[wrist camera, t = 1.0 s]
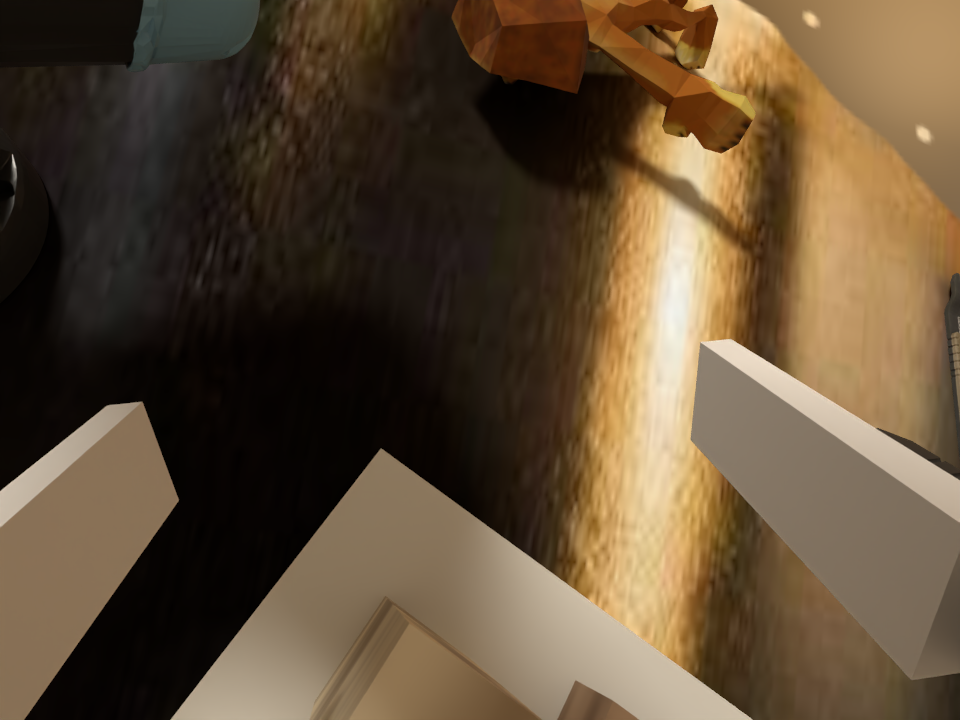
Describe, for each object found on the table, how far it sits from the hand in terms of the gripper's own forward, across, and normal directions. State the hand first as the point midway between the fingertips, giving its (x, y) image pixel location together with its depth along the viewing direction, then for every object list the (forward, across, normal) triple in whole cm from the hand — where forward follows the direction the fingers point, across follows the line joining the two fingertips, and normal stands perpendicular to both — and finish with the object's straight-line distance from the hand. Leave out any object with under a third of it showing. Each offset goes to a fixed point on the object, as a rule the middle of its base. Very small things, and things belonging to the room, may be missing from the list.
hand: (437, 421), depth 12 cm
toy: (+38, +17, +12) cm, 43 cm away
